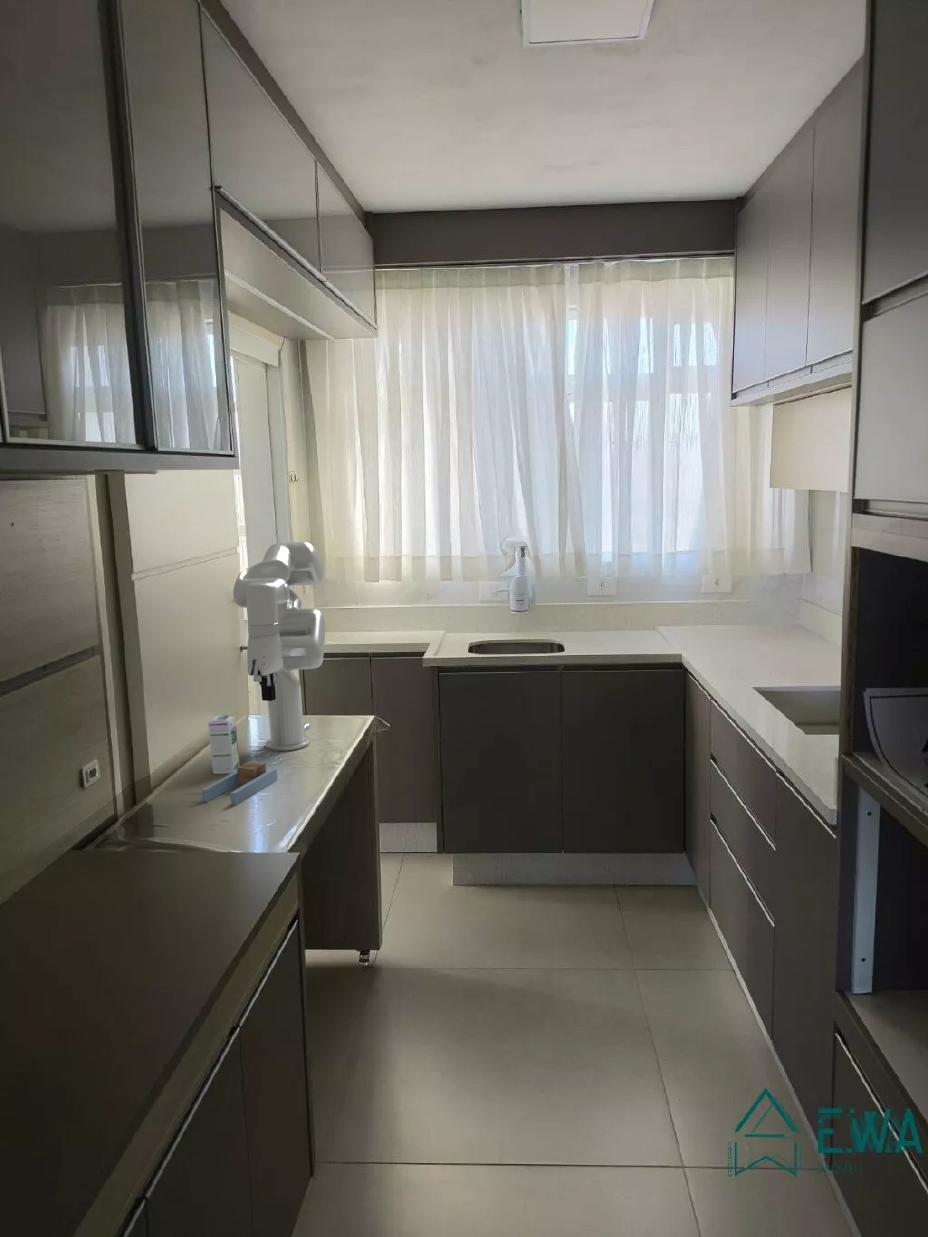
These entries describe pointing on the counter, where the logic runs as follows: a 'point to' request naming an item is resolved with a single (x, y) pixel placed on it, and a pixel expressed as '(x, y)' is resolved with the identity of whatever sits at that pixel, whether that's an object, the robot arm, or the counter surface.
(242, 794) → the channel
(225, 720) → the syrup box
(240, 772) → the walnut block
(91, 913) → the counter surface
